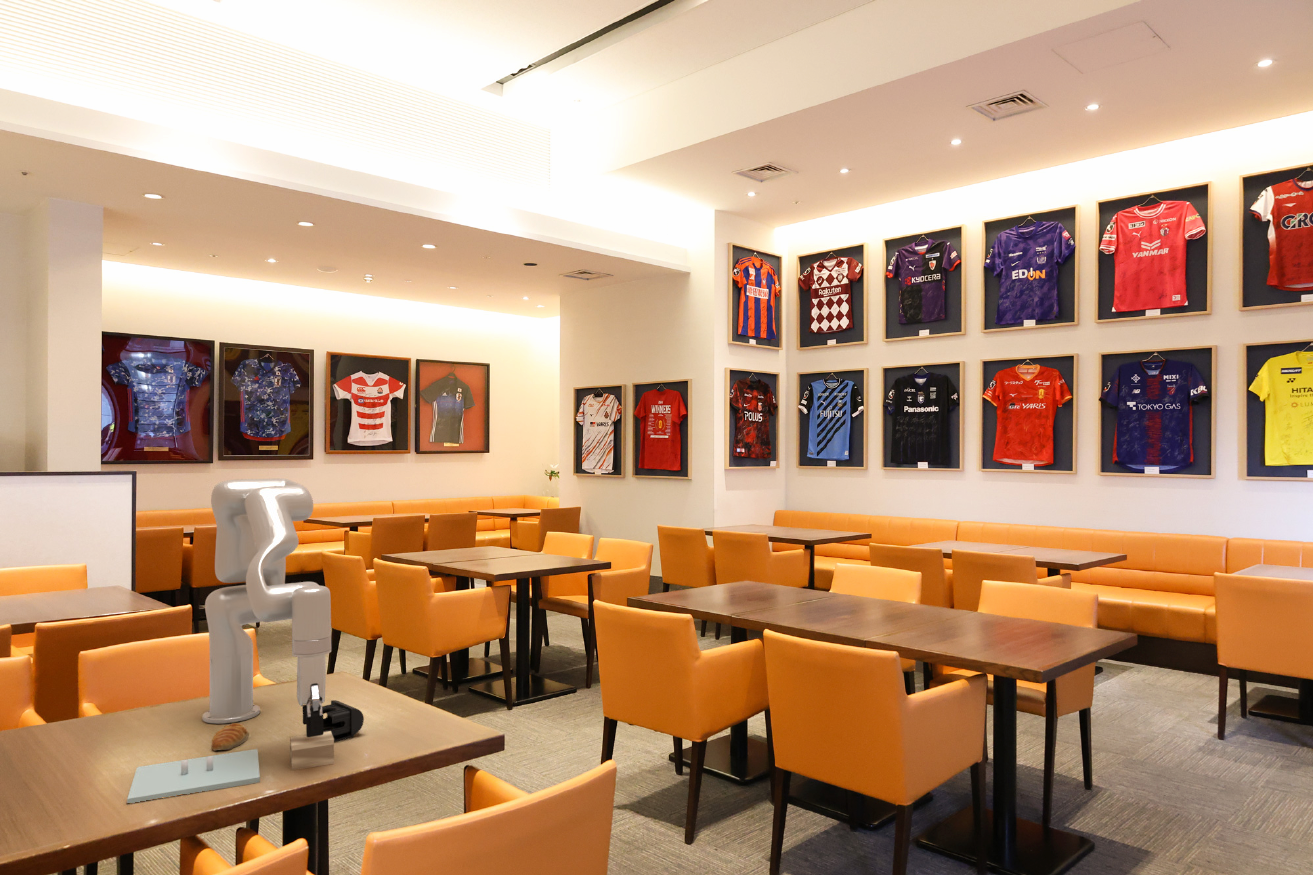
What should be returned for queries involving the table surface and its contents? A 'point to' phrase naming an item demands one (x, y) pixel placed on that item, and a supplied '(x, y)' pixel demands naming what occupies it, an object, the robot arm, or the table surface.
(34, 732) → the table surface
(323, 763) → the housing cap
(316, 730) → the robot arm
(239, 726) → the pastry
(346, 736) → the end cap
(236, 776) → the base plate
